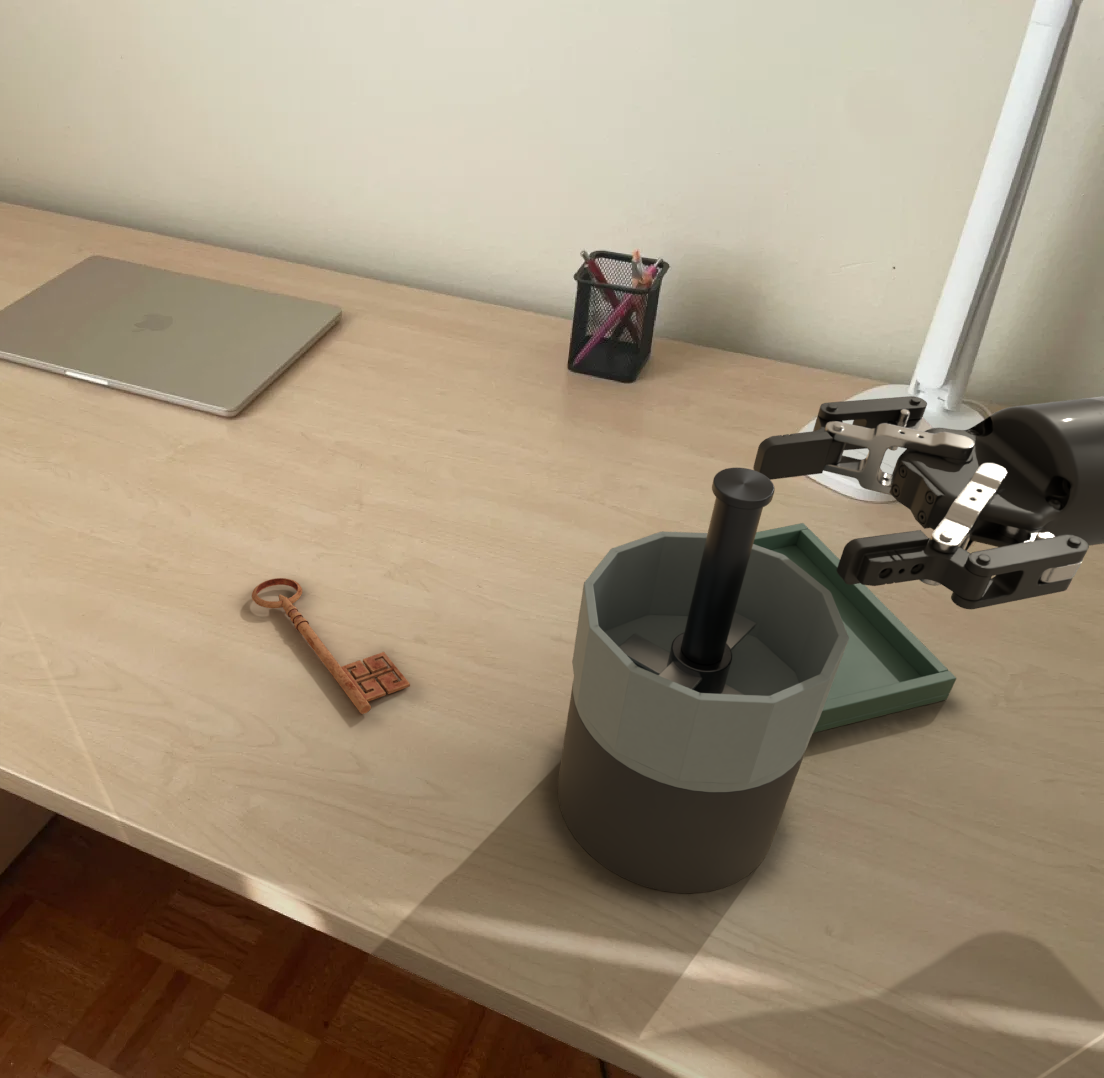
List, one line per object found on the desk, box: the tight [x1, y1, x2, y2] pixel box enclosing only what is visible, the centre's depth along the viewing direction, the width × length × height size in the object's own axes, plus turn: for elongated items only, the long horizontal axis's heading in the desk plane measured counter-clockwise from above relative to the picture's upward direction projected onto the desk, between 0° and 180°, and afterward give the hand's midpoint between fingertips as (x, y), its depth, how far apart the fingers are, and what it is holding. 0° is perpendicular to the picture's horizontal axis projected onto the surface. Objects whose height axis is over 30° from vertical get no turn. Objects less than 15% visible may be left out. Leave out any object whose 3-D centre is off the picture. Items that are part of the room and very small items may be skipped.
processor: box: [557, 531, 849, 894], centre depth 60 cm, size 13×13×16 cm
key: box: [251, 577, 411, 715], centre depth 76 cm, size 6×1×15 cm
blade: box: [619, 467, 776, 695], centre depth 54 cm, size 9×9×14 cm
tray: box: [753, 522, 957, 734], centre depth 76 cm, size 18×14×2 cm
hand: (799, 508), depth 52 cm, fingers open, 8 cm apart
